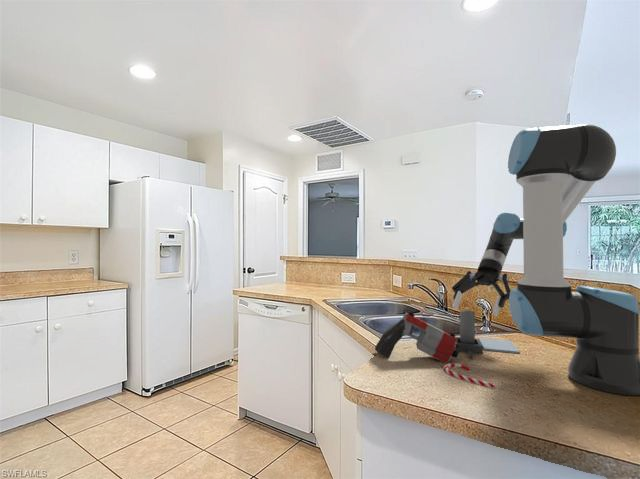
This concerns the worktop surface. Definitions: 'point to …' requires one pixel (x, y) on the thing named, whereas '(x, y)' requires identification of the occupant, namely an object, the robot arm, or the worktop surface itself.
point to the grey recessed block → (470, 347)
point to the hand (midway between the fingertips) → (473, 310)
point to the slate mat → (498, 345)
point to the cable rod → (467, 326)
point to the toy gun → (419, 339)
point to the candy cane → (446, 369)
